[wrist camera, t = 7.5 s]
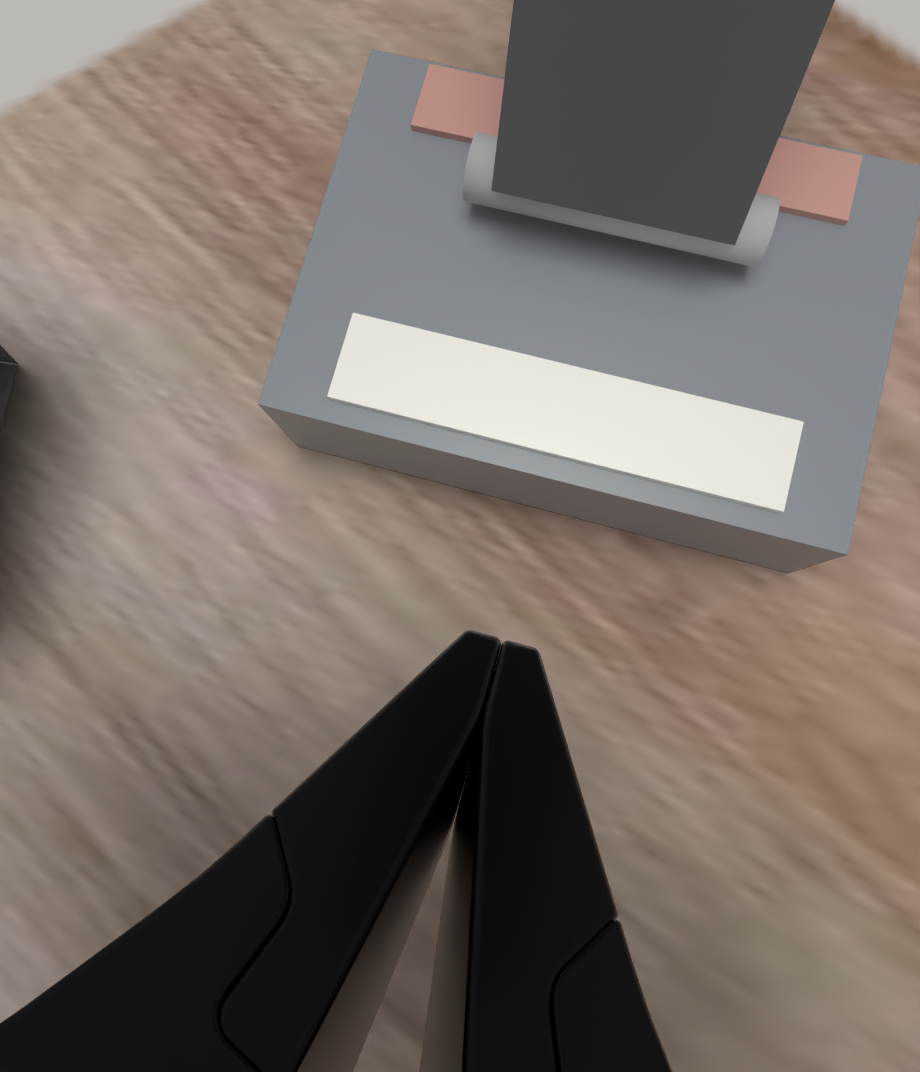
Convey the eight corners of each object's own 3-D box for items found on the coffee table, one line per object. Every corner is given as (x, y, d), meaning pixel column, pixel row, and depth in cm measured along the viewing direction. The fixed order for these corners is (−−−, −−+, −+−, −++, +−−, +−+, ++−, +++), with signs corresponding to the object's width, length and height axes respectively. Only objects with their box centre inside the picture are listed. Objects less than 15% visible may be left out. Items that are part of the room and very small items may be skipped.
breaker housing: (788, 572, 20) (851, 553, 17) (297, 445, 21) (255, 400, 18) (859, 246, 22) (933, 161, 18) (391, 143, 23) (370, 42, 19)
